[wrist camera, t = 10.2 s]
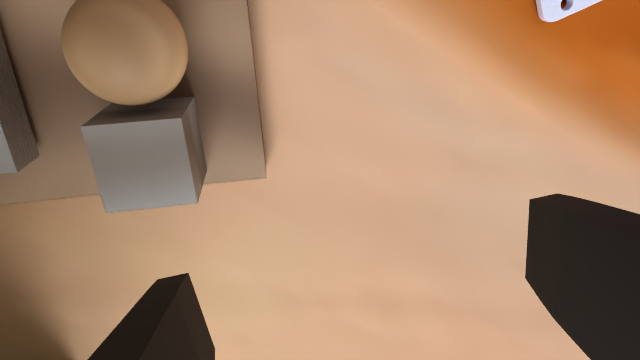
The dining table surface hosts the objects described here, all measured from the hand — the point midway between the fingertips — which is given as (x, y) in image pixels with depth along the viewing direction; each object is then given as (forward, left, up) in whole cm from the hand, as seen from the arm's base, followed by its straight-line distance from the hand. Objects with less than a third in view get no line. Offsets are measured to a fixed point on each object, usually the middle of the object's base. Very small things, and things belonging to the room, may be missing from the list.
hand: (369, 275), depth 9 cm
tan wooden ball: (+4, -6, -9) cm, 12 cm away
